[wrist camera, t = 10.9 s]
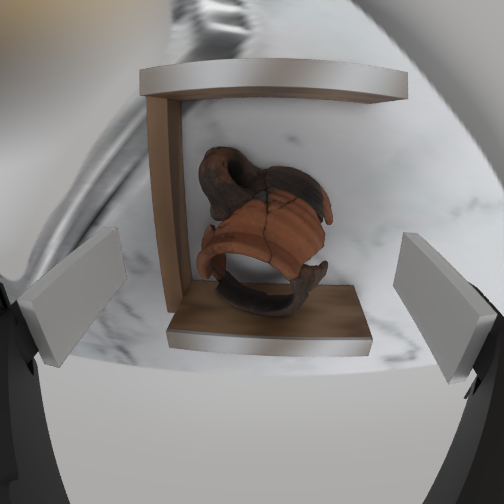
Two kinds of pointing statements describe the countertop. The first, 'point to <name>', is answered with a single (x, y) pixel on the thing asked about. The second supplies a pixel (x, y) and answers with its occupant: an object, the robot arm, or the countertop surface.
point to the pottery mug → (262, 228)
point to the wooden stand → (174, 210)
